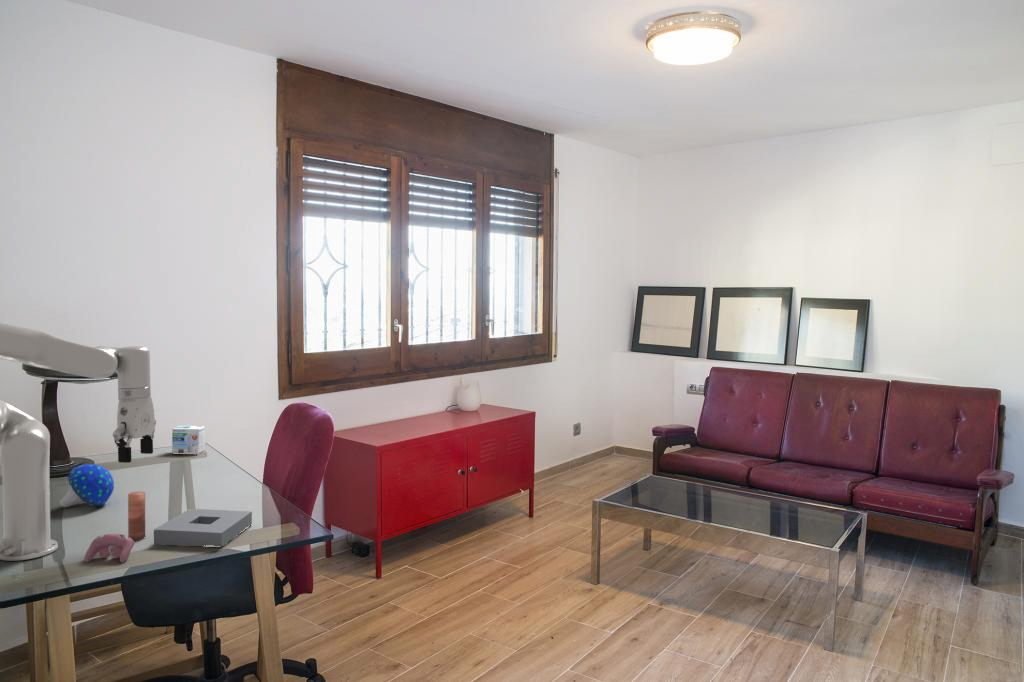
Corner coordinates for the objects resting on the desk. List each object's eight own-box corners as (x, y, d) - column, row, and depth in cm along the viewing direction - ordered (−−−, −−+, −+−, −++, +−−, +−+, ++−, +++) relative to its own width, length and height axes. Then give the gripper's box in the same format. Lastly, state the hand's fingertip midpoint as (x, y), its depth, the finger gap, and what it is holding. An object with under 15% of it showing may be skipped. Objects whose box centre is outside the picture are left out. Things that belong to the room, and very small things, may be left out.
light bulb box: (171, 455, 276) (171, 428, 275) (178, 451, 283) (178, 425, 282) (199, 455, 277) (199, 428, 276) (205, 451, 284) (205, 425, 283)
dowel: (139, 541, 181) (139, 496, 180) (124, 540, 181) (124, 495, 181) (148, 535, 185) (148, 491, 184) (134, 535, 185) (133, 491, 185)
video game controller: (132, 564, 170) (138, 535, 173) (123, 562, 166) (130, 532, 168) (91, 563, 169) (98, 534, 172) (81, 561, 165) (88, 531, 168)
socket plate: (221, 548, 178) (221, 532, 178) (153, 544, 179) (153, 529, 179) (251, 525, 196) (251, 511, 196) (190, 522, 197) (190, 508, 197)
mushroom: (46, 478, 209) (92, 447, 213) (80, 508, 216) (124, 477, 220) (42, 500, 197) (91, 466, 201) (78, 531, 204) (125, 498, 208)
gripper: (128, 399, 173) (130, 466, 174) (166, 389, 190) (167, 450, 191) (99, 398, 173) (101, 465, 175) (140, 388, 191) (141, 449, 192)
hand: (136, 457), depth 183 cm, fingers open, 9 cm apart
